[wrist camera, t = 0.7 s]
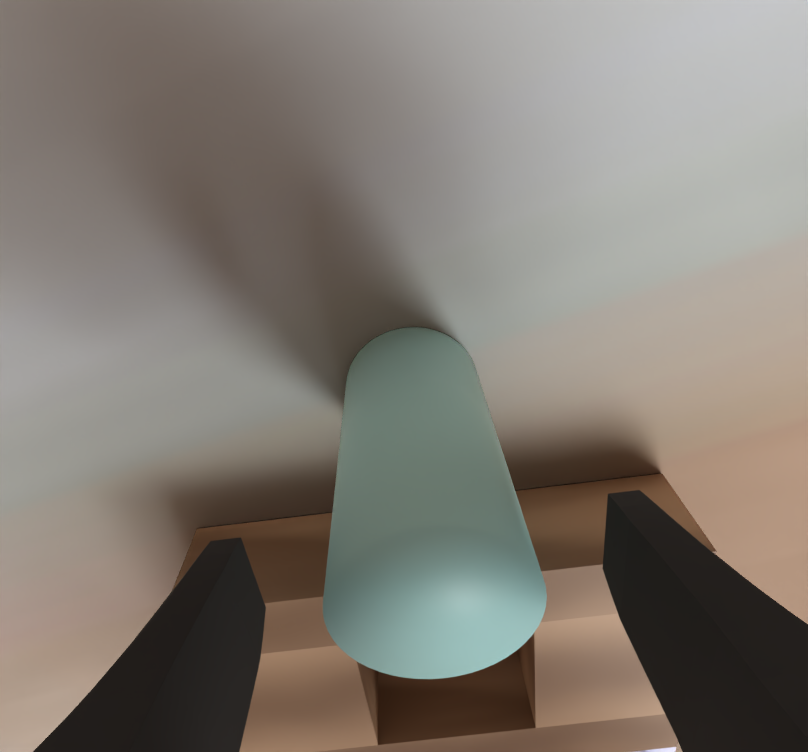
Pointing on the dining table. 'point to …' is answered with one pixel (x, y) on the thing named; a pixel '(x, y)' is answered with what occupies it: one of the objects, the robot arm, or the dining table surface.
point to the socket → (471, 693)
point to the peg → (425, 518)
